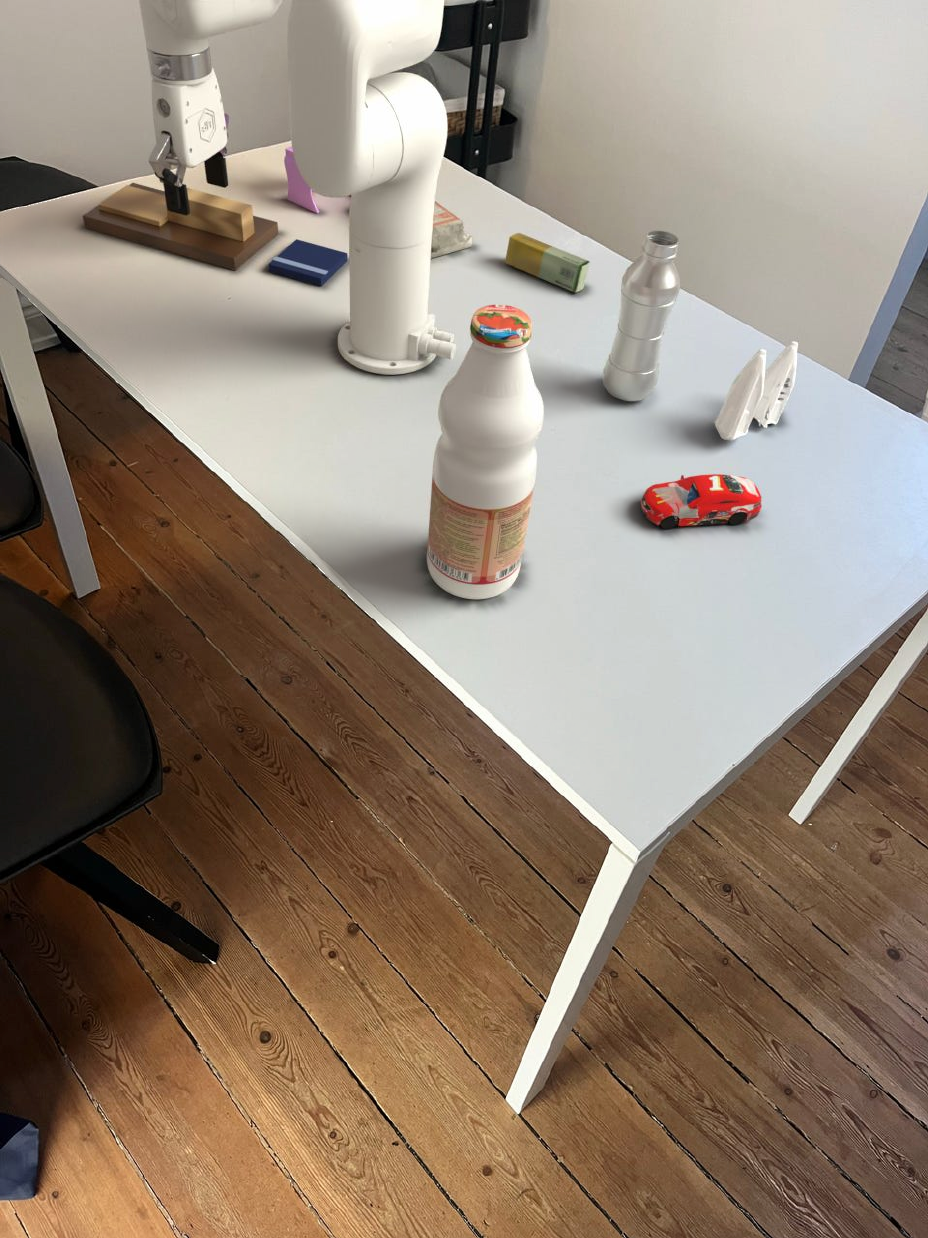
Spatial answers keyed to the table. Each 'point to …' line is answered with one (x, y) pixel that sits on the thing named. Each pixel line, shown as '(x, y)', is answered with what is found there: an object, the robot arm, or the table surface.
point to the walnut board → (184, 236)
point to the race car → (702, 501)
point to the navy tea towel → (308, 262)
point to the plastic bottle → (643, 318)
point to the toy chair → (298, 184)
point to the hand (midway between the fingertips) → (198, 198)
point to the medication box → (547, 262)
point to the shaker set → (758, 393)
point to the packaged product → (447, 233)
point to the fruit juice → (485, 459)
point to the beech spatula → (203, 215)
